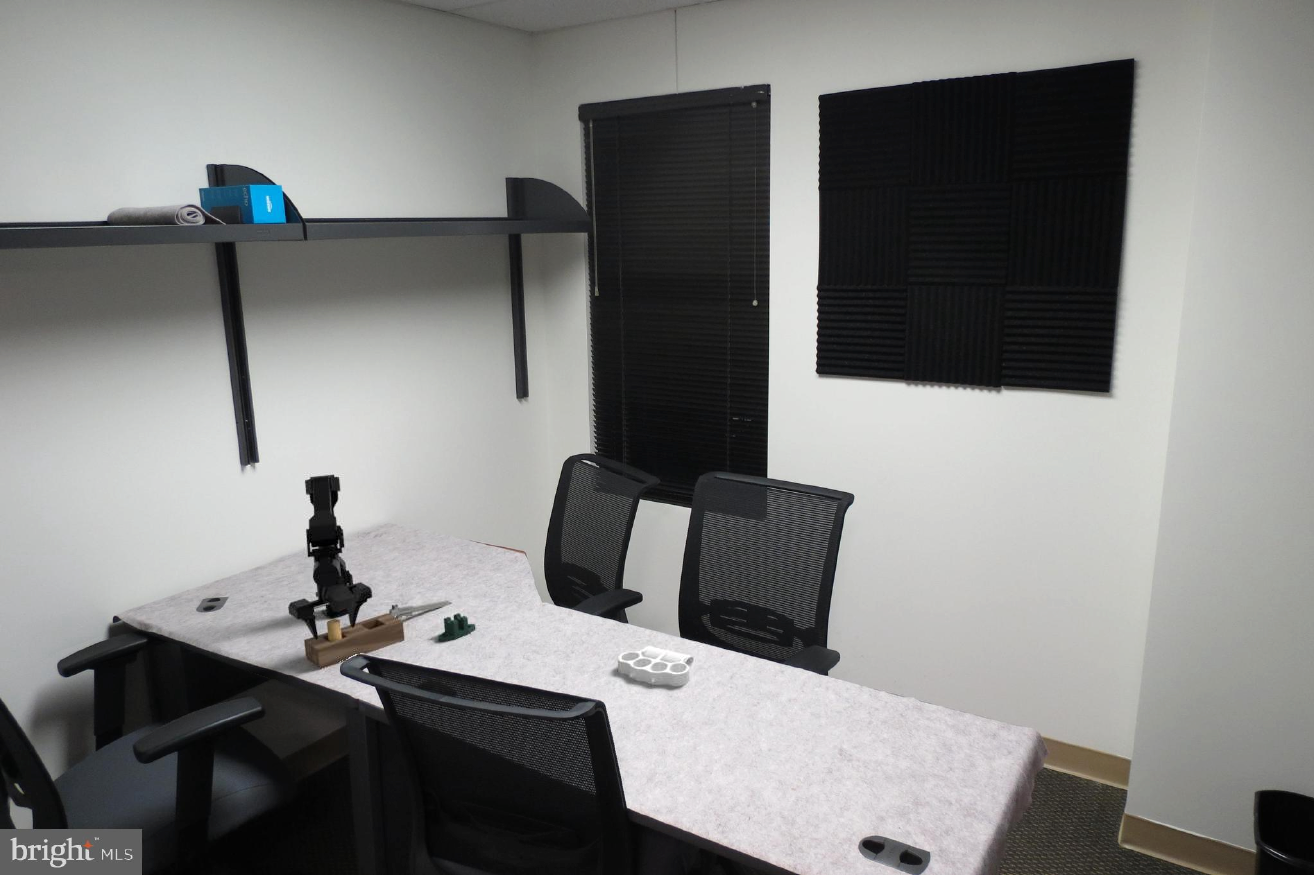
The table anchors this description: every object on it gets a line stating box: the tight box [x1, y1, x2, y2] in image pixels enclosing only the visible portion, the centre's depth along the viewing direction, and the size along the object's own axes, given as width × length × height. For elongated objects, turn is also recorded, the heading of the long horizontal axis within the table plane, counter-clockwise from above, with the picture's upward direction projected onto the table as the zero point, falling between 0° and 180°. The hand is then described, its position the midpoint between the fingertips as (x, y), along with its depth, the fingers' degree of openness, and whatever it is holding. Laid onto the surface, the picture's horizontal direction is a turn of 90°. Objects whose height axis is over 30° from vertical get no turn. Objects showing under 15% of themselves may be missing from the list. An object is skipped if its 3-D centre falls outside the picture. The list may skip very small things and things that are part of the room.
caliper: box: [388, 599, 453, 621], centre depth 243 cm, size 20×1×6 cm, turn 143°
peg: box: [326, 618, 342, 643], centre depth 219 cm, size 3×3×9 cm
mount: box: [437, 613, 476, 643], centre depth 230 cm, size 11×4×5 cm, turn 137°
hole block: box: [303, 612, 405, 670], centre depth 223 cm, size 8×22×5 cm, turn 134°
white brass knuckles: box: [617, 645, 694, 688], centre depth 208 cm, size 3×18×15 cm
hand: (334, 633), depth 219 cm, fingers open, 9 cm apart
